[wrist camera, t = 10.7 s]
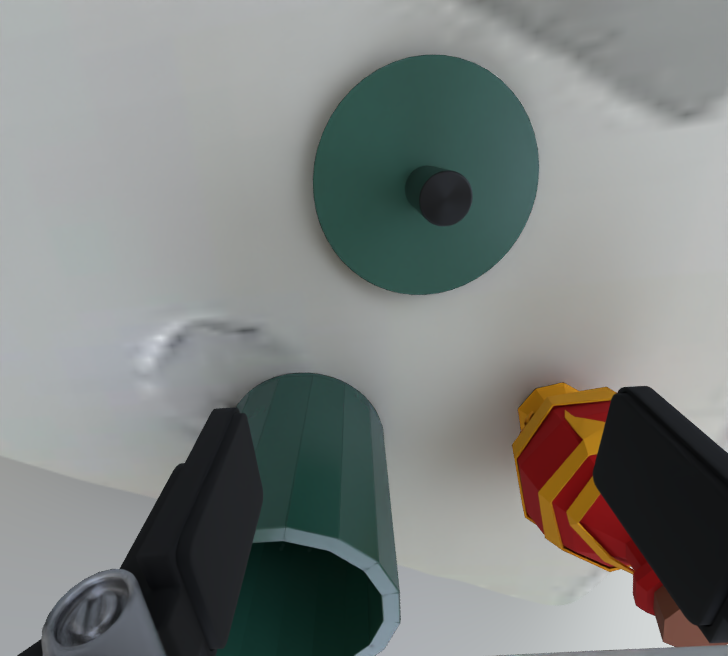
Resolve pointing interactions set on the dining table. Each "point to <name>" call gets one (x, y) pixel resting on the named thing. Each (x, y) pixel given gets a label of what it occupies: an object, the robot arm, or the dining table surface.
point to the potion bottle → (585, 497)
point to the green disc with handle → (425, 174)
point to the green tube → (317, 525)
